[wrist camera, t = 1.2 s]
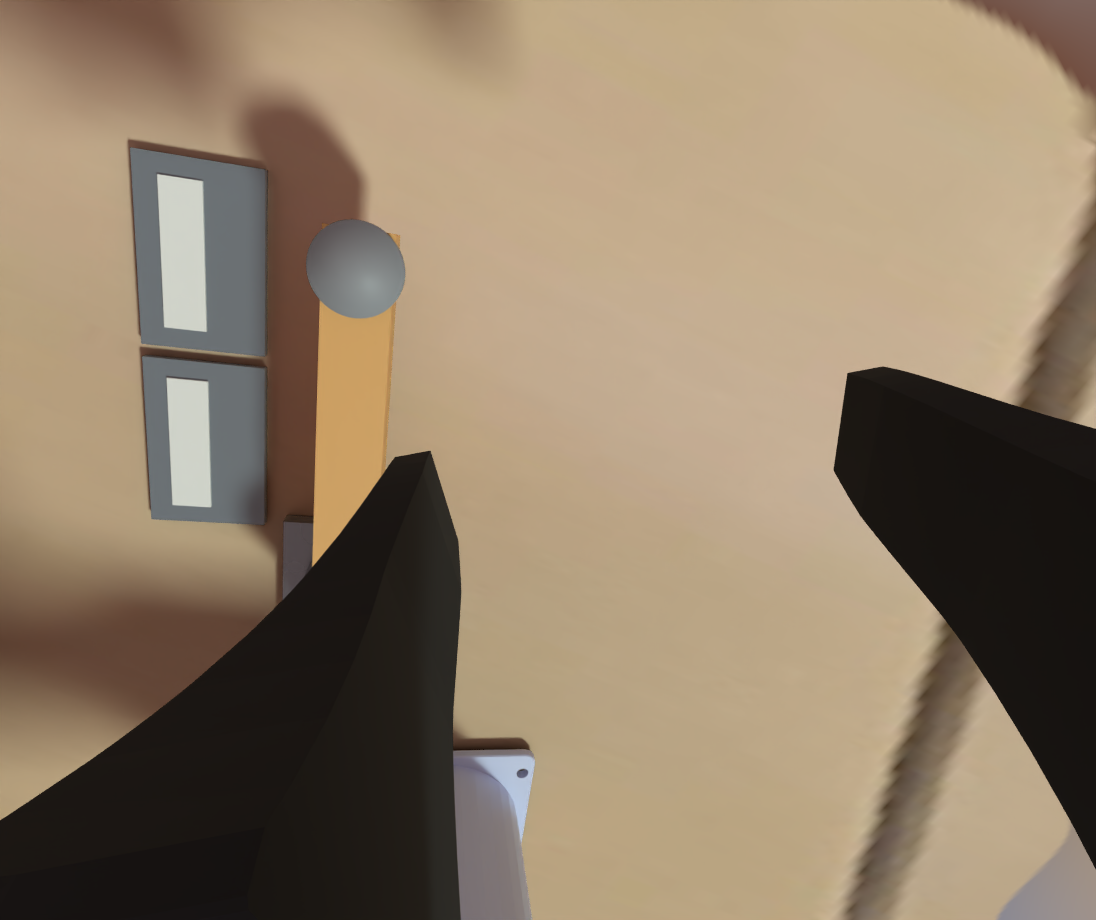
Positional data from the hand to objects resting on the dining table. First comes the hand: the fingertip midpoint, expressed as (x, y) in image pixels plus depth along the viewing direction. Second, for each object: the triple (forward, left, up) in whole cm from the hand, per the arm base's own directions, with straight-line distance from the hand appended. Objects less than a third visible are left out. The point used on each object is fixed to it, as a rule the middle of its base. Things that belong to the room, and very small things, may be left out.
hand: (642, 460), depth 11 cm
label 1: (+2, +11, -12) cm, 16 cm away
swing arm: (-4, +6, -10) cm, 12 cm away
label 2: (-4, +11, -12) cm, 17 cm away
